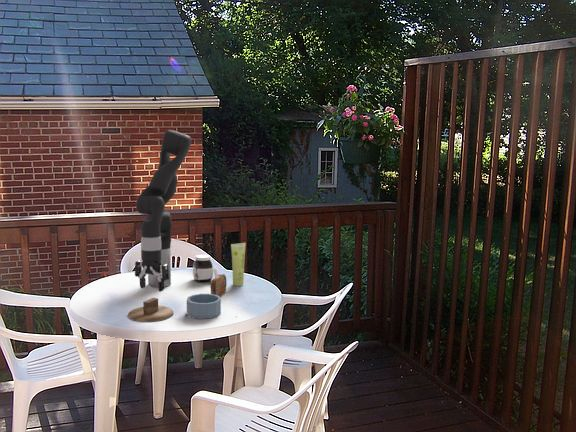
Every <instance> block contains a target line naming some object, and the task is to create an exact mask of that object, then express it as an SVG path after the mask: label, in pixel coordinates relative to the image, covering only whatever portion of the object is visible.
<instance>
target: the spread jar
mask: <svg viewBox="0 0 576 432" xmlns="http://www.w3.org/2000/svg"><path fill="white" fill-rule="evenodd" d="M192 273H193V274H192V276H193V279H194V281H195V282H197V283H209V282H210V281H212V280H213V275H214V278H215V277H216V276H217V275H219V272H218V269H217V267H216V266H213V263H212V261H211V255H210V254H209V255H208V254H197V255H195V260H194V262H193V265H192Z"/></svg>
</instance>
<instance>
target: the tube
mask: <svg viewBox="0 0 576 432" xmlns="http://www.w3.org/2000/svg"><path fill="white" fill-rule="evenodd" d="M246 245H247V243H246V242H241V243H239V242H238V243H231V244H230V250H231V265H232V285H233V286H235V287H239V286H240V287H241V286H244V283H245V282H244V280H245V278H244V277H245V258H246V257H245V256H246V255H245V254H246Z"/></svg>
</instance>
